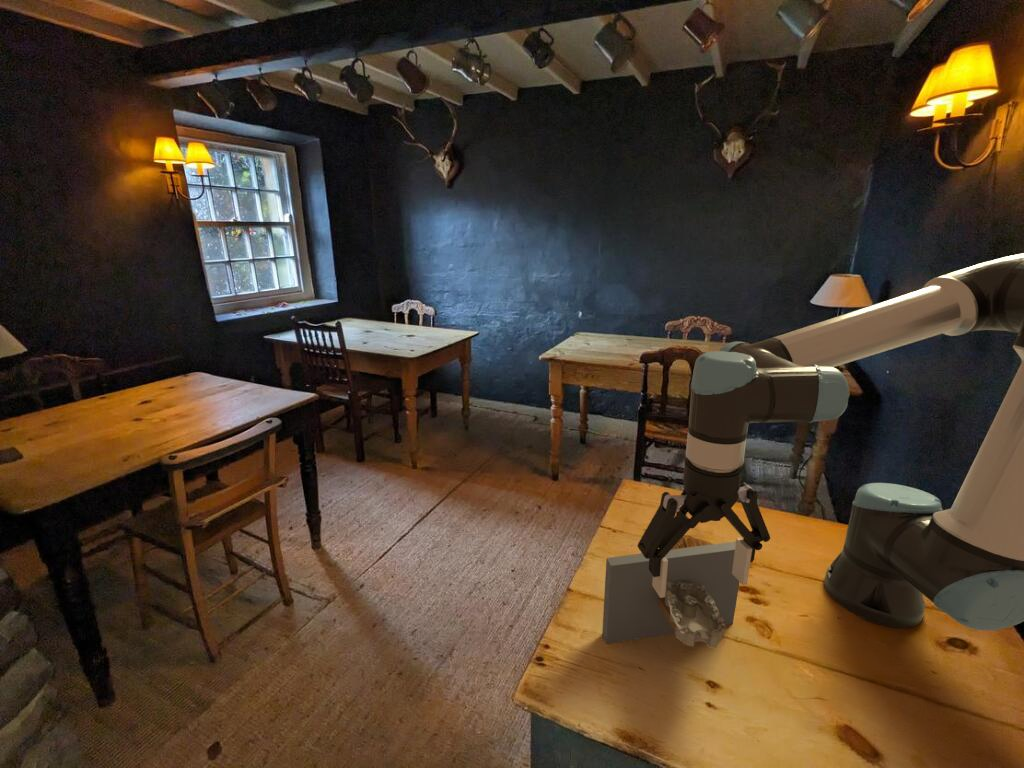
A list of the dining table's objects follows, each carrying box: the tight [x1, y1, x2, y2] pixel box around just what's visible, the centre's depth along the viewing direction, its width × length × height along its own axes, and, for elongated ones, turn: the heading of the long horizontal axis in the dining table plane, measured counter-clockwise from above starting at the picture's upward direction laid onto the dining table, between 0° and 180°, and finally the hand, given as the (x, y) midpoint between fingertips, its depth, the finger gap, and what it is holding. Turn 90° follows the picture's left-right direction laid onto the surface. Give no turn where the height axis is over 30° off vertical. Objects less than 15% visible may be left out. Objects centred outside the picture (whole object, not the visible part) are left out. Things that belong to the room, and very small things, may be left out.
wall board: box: [601, 540, 740, 645], centre depth 76 cm, size 24×10×16 cm, turn 100°
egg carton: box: [665, 581, 727, 649], centre depth 73 cm, size 11×8×4 cm
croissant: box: [671, 534, 713, 550], centre depth 100 cm, size 14×7×5 cm, turn 101°
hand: (699, 585), depth 71 cm, fingers open, 13 cm apart
